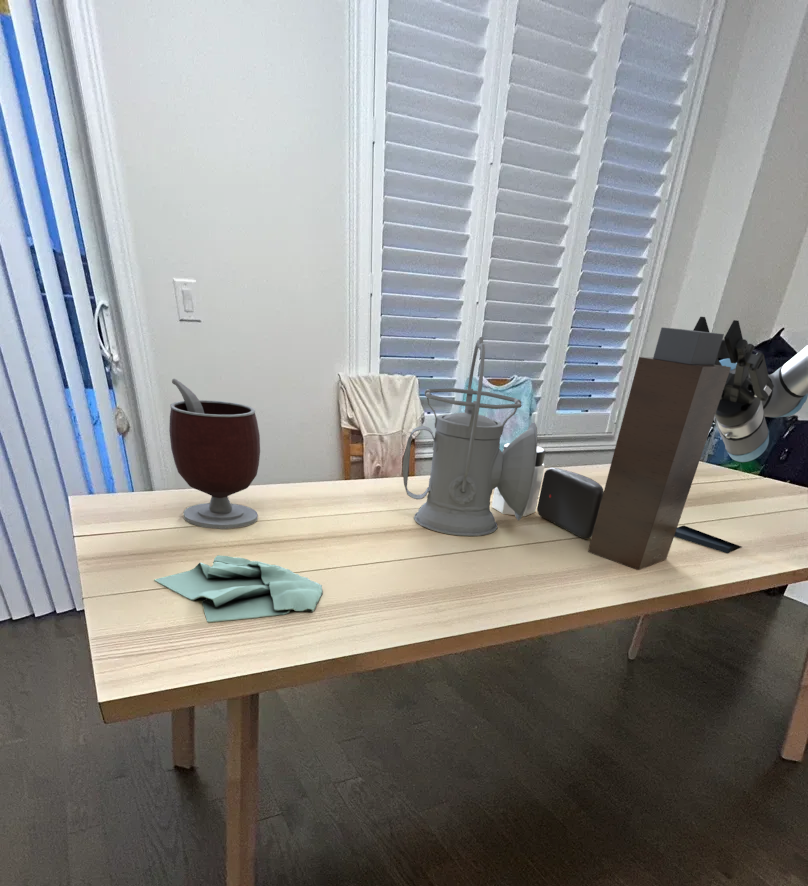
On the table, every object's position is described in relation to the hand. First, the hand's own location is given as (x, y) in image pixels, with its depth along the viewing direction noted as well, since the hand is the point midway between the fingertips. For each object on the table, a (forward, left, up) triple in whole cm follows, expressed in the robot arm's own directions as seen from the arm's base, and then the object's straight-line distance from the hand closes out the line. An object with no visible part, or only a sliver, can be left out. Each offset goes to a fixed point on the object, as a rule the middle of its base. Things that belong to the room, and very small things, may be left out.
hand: (714, 327), depth 96 cm
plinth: (-1, +6, -35) cm, 35 cm away
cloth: (+10, +73, -35) cm, 82 cm away
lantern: (+24, +25, -35) cm, 49 cm away
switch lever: (0, +1, -5) cm, 5 cm away
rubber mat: (0, -22, -35) cm, 41 cm away
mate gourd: (+40, +65, -35) cm, 84 cm away
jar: (+27, +8, -35) cm, 45 cm away
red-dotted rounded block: (+15, +6, -35) cm, 38 cm away
